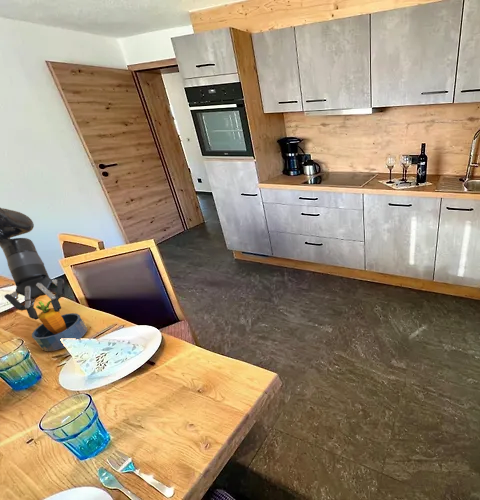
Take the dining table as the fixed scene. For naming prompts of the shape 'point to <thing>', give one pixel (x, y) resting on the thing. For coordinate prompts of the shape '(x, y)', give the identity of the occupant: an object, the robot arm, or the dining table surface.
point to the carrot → (51, 318)
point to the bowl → (52, 341)
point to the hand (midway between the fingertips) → (47, 314)
